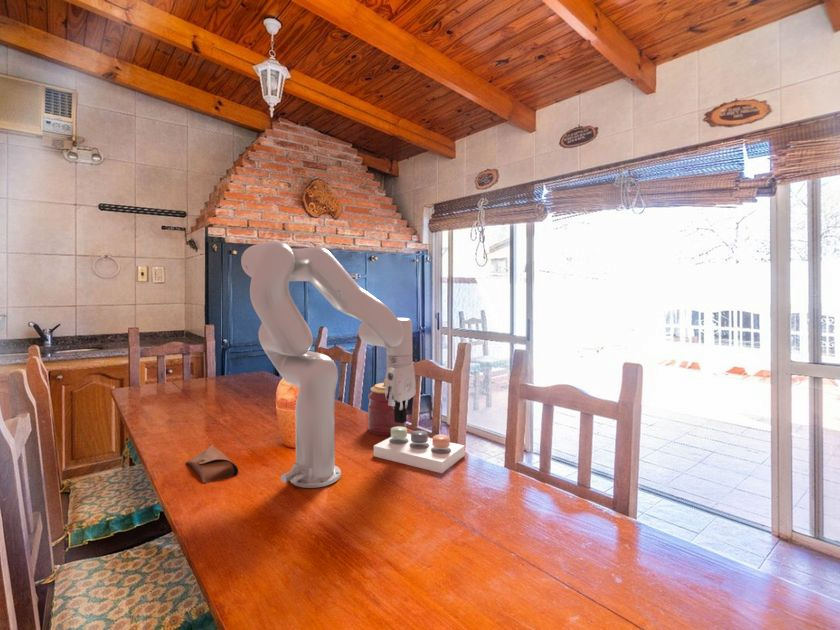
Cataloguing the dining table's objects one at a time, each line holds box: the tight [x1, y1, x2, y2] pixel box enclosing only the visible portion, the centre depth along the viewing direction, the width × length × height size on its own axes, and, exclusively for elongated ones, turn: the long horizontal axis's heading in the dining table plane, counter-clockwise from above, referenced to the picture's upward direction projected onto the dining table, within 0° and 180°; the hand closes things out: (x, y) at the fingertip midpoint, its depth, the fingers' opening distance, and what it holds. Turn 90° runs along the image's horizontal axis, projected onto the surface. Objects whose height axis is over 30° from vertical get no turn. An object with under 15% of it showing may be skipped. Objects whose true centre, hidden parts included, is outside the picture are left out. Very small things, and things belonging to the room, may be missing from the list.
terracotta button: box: [431, 434, 451, 448], centre depth 120 cm, size 5×5×2 cm
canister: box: [367, 378, 407, 437], centre depth 146 cm, size 13×13×18 cm
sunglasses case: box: [185, 444, 239, 484], centre depth 115 cm, size 18×7×7 cm, turn 43°
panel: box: [373, 433, 466, 474], centre depth 124 cm, size 14×22×3 cm, turn 59°
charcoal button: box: [410, 430, 429, 443], centre depth 124 cm, size 5×5×2 cm
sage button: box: [390, 427, 408, 439], centre depth 127 cm, size 5×5×2 cm
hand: (400, 421), depth 127 cm, fingers closed
